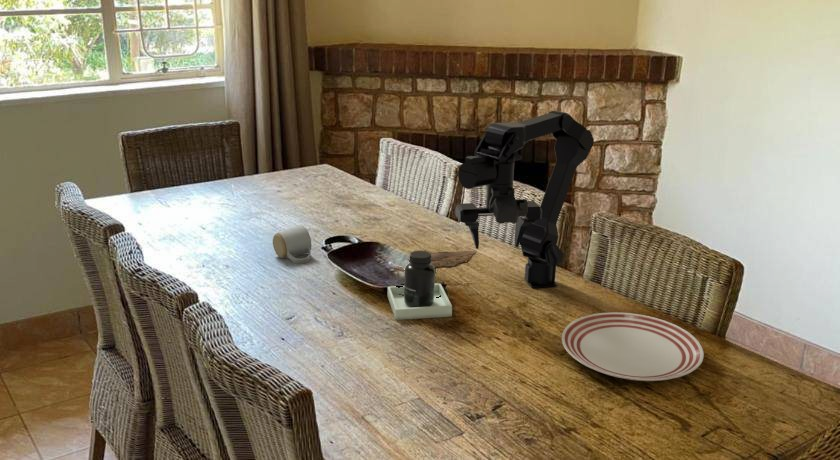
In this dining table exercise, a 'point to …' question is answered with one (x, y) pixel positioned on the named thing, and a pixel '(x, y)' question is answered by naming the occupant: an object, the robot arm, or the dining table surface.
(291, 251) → the ceramic mug
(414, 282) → the supplement bottle
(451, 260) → the wooden fragment
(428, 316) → the tray
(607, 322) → the dinner plate
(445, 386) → the dining table surface
